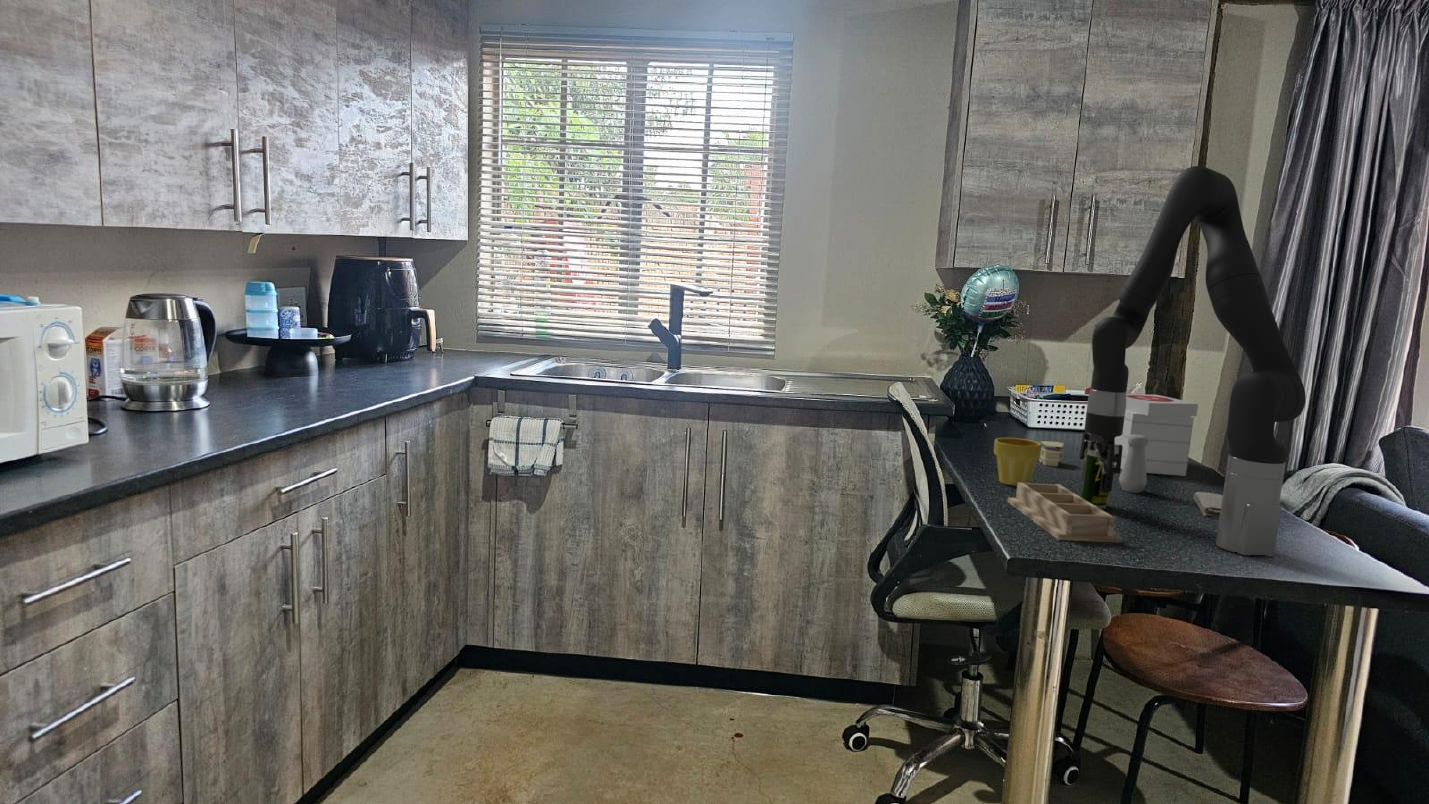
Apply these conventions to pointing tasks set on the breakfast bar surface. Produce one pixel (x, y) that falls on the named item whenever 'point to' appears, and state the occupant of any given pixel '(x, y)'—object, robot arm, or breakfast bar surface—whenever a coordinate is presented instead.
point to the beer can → (1093, 481)
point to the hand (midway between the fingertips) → (1096, 486)
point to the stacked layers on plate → (1051, 453)
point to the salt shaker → (1134, 465)
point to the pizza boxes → (1159, 431)
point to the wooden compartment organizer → (1064, 513)
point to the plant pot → (1016, 459)
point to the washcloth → (1209, 503)
